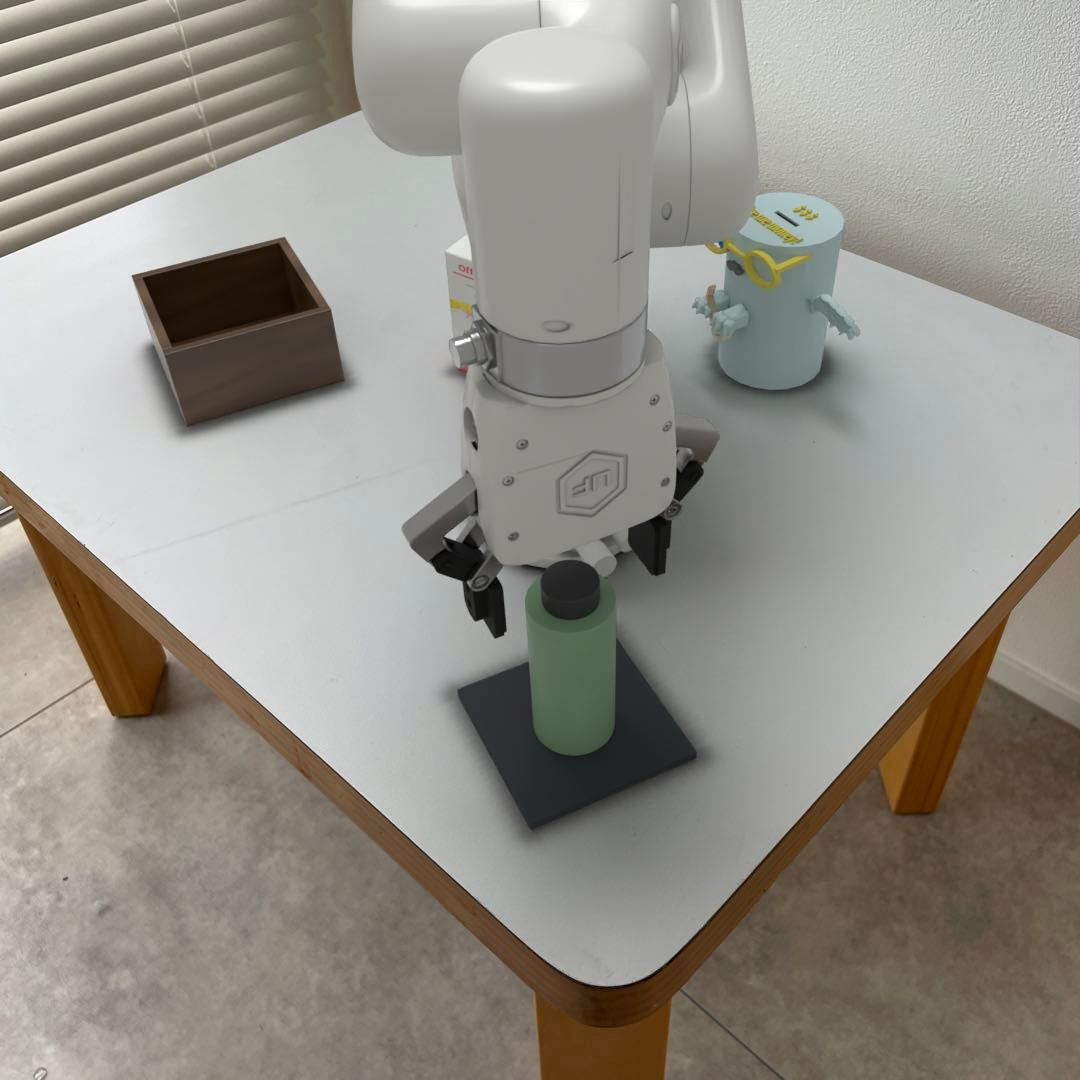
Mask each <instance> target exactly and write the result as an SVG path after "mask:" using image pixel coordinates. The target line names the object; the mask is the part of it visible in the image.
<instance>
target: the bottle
mask: <svg viewBox="0 0 1080 1080" xmlns="http://www.w3.org/2000/svg"><path fill="white" fill-rule="evenodd" d="M524 597H525V598H524V609H525V623H526V636H527V637H526V638H527V652H528V653H527V654H528V662H529V669H530V684H531V698H532V713H533V726H534V731H535V733H536V735H537V737H538V739H539V740H540V741H541V742H542V743H543V744H544V745H545V746H546V747H547V748H549V749H550V750H552V751H554V752H557V753H560V754H564V755H571V756H574V755H584V754H588V753H591V752H593V751H595V750H597V749H599V748H600V747H602V746H603V745H604V744H605V743H606V742H607V741H608V740H609V738H610V737H611V735H612V733H613V730H614V726H615V676H616V638H617V594H616V591H615V589H614V587H613V585H612V584H611V582H609V580H608V579H607V578H606V577H603V576H601V575H600V574H598V573H597V571H596V570H595V569H594V568H593V567H592V566H591V565H589V564H587V563H585V562H583V561H579V560H562V561H559V562H556V563H554V564H552V565H550V566H549V567H548V568H545V570H544V571H543V572H542V574H541V575H540V576H538V577H536V579H534V581H532V583H531V584H530V585H529V587H528V589H527V590H526V593H525V596H524Z"/></svg>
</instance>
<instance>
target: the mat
mask: <svg viewBox="0 0 1080 1080" xmlns="http://www.w3.org/2000/svg"><path fill="white" fill-rule="evenodd" d="M456 691H457V696H458V698H459V700H460V702H461V703H462V705H463V707H464V709H465V712H466V713H467V715H468V717H469V719H470V720H471V722H472V724H473V726H474V727H475V729H476V731H477V733H478V735H479V737H480V739H481V740H482V742H483V745H484V746H485V747H486V750H487V751H488V753H489V755H490V757H491V759H492V760H493V763H494V764H495V767H496V768H497V770H498V772H499V773H500V775H501V777H502V779H503V781H504V783H505V785H506V787H507V788H508V791H509V792H510V794H511V796H512V798H513V800H514V801H515V804H516V805H517V807H518V809H519V811H520V812H521V814H522V816H523V817H524V820H525V821H526V824H527V825H528V827H529V829H530V830H533V829H536V828H537V827H540V826H543V825H545V824H547V823H549V822H551V821H554V820H557V819H558V818H561V817H563V816H565V815H567V814H570V813H572V812H575V811H577V810H580V809H582V808H584V807H586V806H589V805H591V804H593V803H595V802H597V801H600V800H603V799H605V798H607V797H610V796H611V795H614V794H616V793H618V792H621V791H623V790H625V789H627V788H630V787H633V786H634V785H637V784H639V783H642V782H644V781H646V780H649V779H650V778H653V777H655V776H658V775H660V774H663V773H665V772H667V771H669V770H672V769H675V768H676V767H679V766H680V765H683V764H685V763H688V762H689V761H692V760H694V759H696V758H697V756H698V755H697V754H698V752H697V750H696V748H695V747H694V746H693V744H692V743H691V742H690V740H689V739H688V737H687V736H686V735H685V733H684V732H683V730H682V729H681V727H680V726H679V725H678V724H677V722H676V720H675V719H674V717H673V716H672V714H671V713H670V712H669V710H668V709H667V708H666V707H665V705H664V703H663V702H662V701H661V699H660V697H659V696H658V695H657V693H656V692H655V691H654V689H653V688H652V686H651V685H650V683H649V682H648V681H647V679H646V678H645V677H644V675H643V674H642V672H641V670H640V669H639V668H638V667H637V665H636V664H635V662H634V661H633V659H632V658H631V656H630V655H629V654H628V652H627V651H626V650H625V648H624V647H623V645H622V644H621V642H620V641H619V640H618V638H617V637H616V676H615V726H614V730H613V733H612V735H611V737H610V738H609V740H608V741H607V742H606V743H605V744H604V745H603V746H602V747H600V748H599V749H597V750H595V751H593V752H591V753H588V754H584V755H574V756H571V755H564V754H560V753H557V752H554V751H552V750H550V749H549V748H547V747H546V746H545V745H544V744H543V743H542V742H541V741H540V740H539V739H538V737H537V735H536V733H535V731H534V726H533V713H532V698H531V684H530V669H529V661H527V662H524V663H521V664H519V665H516V666H514V667H511V668H509V669H506V670H504V671H501V672H498V673H496V674H493V675H491V676H488V677H485V678H483V679H480V680H478V681H475V682H472V683H469V684H468V685H465V686H462V687H459V688H457V690H456Z"/></svg>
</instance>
